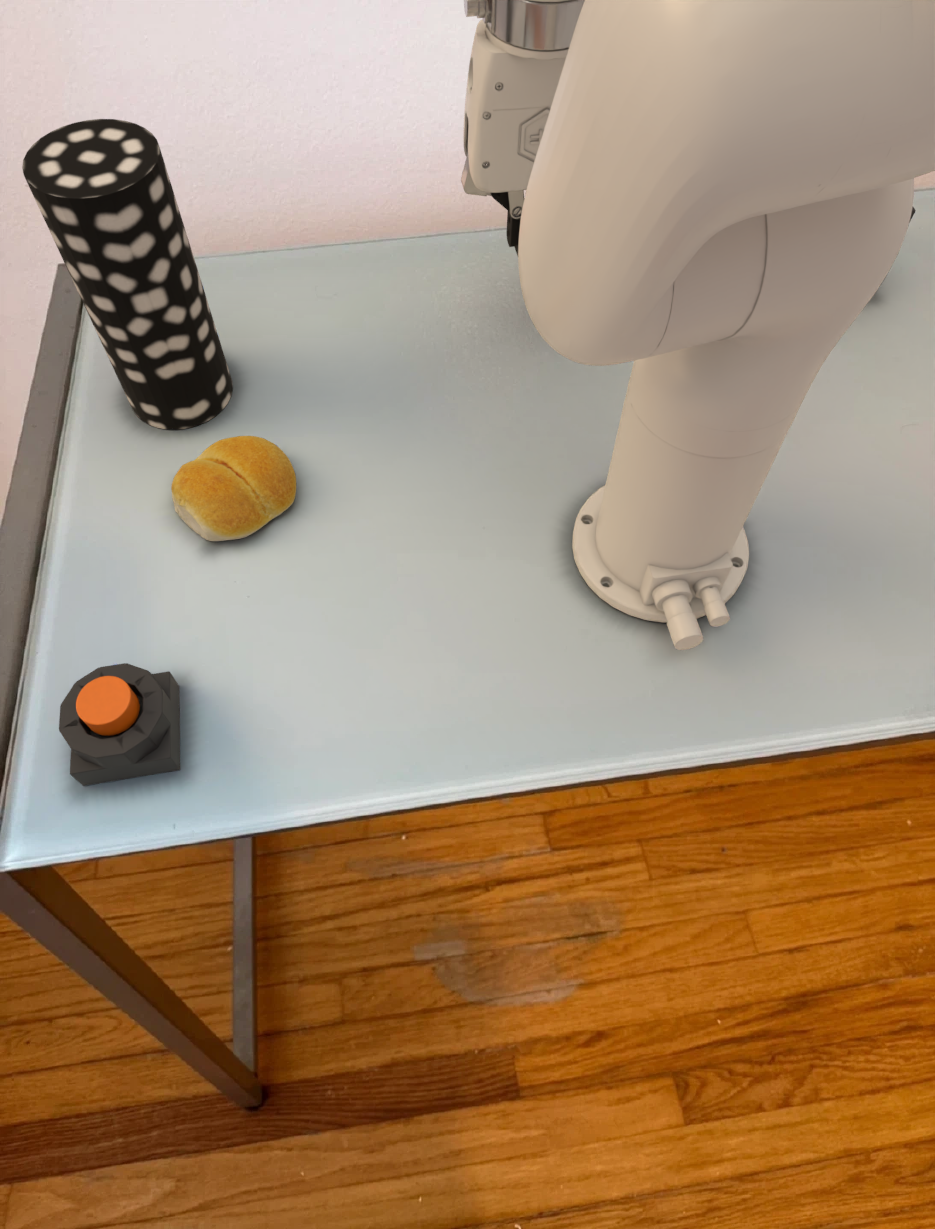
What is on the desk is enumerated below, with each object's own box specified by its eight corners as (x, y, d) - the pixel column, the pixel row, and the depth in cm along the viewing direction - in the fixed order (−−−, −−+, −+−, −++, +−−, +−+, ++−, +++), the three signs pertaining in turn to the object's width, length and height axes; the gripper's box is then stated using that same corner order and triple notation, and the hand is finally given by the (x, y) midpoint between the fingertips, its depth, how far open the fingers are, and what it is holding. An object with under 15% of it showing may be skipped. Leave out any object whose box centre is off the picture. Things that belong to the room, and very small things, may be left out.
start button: (139, 731, 52) (130, 719, 50) (85, 740, 51) (74, 728, 50) (140, 684, 53) (131, 671, 52) (87, 692, 53) (76, 679, 52)
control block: (181, 770, 54) (162, 747, 51) (82, 787, 54) (56, 764, 50) (180, 684, 57) (162, 657, 54) (86, 699, 57) (61, 672, 53)
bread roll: (319, 492, 66) (311, 457, 62) (226, 563, 62) (212, 530, 59) (250, 435, 68) (238, 398, 65) (157, 500, 65) (140, 465, 62)
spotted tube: (249, 368, 72) (183, 132, 55) (204, 440, 68) (117, 210, 51) (160, 346, 73) (67, 109, 56) (111, 416, 69) (-5, 183, 52)
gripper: (440, 47, 54) (444, 291, 69) (670, 25, 55) (623, 269, 71) (420, -13, 57) (429, 232, 73) (637, -31, 59) (599, 212, 75)
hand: (525, 249), depth 72 cm, fingers closed
